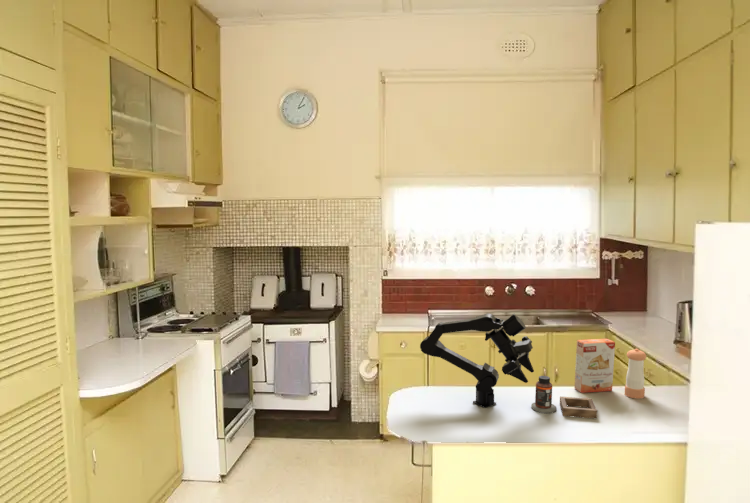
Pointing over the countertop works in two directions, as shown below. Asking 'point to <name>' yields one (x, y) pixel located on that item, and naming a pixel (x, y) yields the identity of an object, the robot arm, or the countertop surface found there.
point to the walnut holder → (578, 412)
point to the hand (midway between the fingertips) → (530, 377)
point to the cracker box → (594, 365)
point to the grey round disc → (549, 410)
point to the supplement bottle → (543, 393)
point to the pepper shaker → (635, 374)
